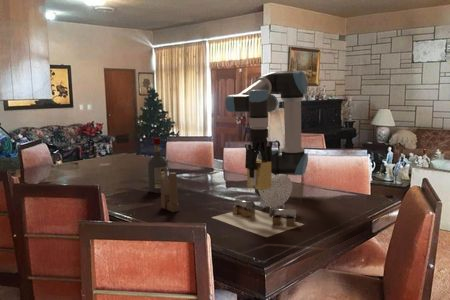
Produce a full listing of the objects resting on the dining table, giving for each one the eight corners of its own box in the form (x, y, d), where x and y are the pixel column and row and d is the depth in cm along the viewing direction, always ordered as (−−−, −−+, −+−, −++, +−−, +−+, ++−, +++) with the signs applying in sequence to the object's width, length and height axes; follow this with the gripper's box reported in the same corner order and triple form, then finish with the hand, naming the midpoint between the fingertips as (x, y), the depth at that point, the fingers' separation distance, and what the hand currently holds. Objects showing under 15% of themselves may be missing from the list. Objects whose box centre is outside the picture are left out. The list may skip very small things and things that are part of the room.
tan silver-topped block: (232, 213, 177) (232, 198, 176) (240, 211, 180) (240, 196, 179) (247, 218, 169) (246, 202, 169) (255, 215, 173) (255, 200, 172)
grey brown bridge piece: (269, 225, 160) (269, 208, 159) (270, 221, 165) (270, 205, 164) (295, 227, 157) (295, 210, 156) (296, 223, 162) (296, 206, 161)
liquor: (147, 191, 224) (145, 138, 220) (160, 188, 231) (158, 137, 227) (157, 193, 218) (155, 139, 214) (170, 190, 225) (168, 138, 221)
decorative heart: (297, 210, 183) (297, 173, 181) (284, 215, 175) (284, 177, 173) (265, 203, 195) (265, 169, 193) (252, 208, 187) (251, 172, 185)
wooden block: (167, 206, 193) (166, 169, 190) (179, 211, 185) (178, 173, 182) (161, 207, 190) (159, 170, 188) (172, 212, 182) (171, 174, 180)
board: (248, 209, 186) (248, 207, 185) (304, 226, 160) (304, 224, 160) (211, 219, 172) (211, 217, 172) (266, 239, 146) (266, 237, 146)
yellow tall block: (271, 187, 164) (271, 161, 162) (261, 190, 160) (260, 163, 158) (257, 184, 170) (257, 158, 168) (247, 187, 166) (246, 160, 164)
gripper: (268, 126, 170) (268, 178, 174) (235, 129, 158) (236, 186, 161) (281, 126, 164) (281, 181, 168) (248, 130, 152) (248, 189, 156)
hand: (259, 183), depth 165 cm, fingers closed on yellow tall block, 6 cm apart
